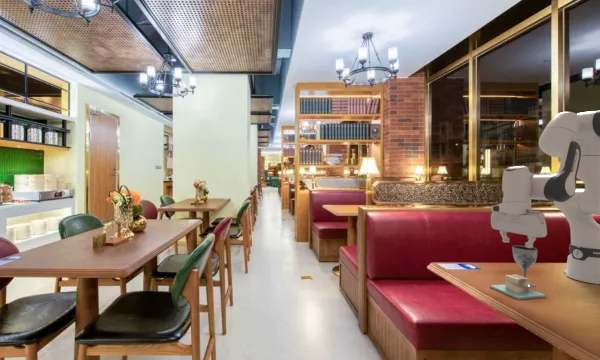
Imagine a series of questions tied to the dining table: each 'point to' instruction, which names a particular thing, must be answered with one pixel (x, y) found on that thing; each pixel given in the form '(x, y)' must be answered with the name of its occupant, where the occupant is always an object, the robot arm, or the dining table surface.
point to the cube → (517, 283)
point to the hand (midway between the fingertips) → (517, 244)
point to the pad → (518, 295)
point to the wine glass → (525, 258)
